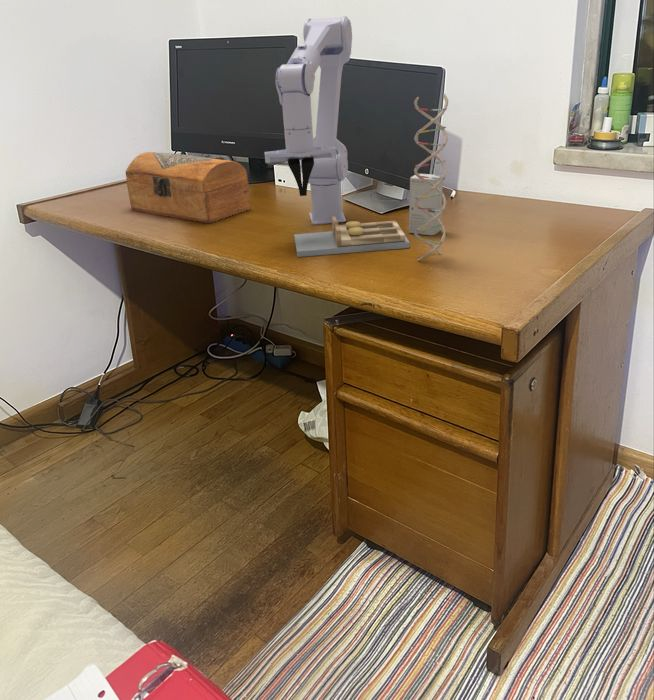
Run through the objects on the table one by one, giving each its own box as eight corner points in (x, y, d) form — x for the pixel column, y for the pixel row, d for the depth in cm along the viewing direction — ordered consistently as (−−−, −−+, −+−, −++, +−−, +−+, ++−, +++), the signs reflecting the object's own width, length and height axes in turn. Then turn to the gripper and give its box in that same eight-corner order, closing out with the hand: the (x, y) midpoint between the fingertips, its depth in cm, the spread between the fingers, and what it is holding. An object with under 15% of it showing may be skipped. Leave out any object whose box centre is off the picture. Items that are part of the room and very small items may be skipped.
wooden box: (127, 211, 182) (117, 158, 175) (175, 197, 193) (167, 146, 187) (204, 226, 164) (196, 168, 158) (252, 210, 176) (246, 154, 170)
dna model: (433, 250, 138) (435, 91, 125) (453, 258, 133) (457, 94, 120) (405, 256, 135) (404, 95, 122) (424, 265, 130) (426, 98, 117)
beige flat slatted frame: (332, 231, 149) (331, 216, 148) (395, 225, 150) (395, 211, 149) (337, 246, 139) (336, 231, 138) (405, 240, 140) (405, 225, 139)
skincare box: (408, 233, 149) (407, 177, 144) (416, 227, 153) (416, 172, 147) (434, 236, 146) (435, 179, 141) (442, 230, 150) (443, 174, 145)
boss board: (294, 239, 150) (293, 223, 148) (398, 231, 151) (398, 214, 149) (297, 257, 139) (296, 239, 137) (409, 247, 140) (409, 230, 139)
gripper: (262, 133, 135) (269, 202, 141) (335, 128, 136) (339, 196, 142) (262, 128, 141) (268, 194, 147) (332, 123, 142) (335, 188, 148)
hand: (303, 194), depth 145 cm, fingers closed
